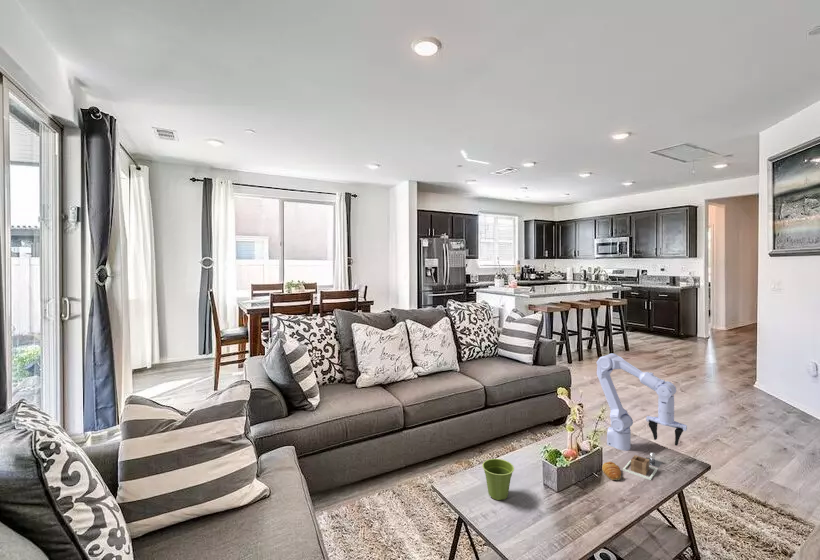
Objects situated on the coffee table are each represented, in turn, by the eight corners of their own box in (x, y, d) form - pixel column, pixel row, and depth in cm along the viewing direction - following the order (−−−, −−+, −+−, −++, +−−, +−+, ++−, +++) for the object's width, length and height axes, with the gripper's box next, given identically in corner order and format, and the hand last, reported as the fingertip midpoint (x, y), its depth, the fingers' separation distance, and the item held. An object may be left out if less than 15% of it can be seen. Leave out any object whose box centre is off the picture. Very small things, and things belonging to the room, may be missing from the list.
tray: (622, 472, 159) (622, 469, 159) (630, 463, 166) (630, 459, 166) (650, 482, 151) (650, 478, 151) (657, 472, 159) (657, 468, 158)
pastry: (625, 482, 152) (625, 473, 152) (606, 481, 154) (606, 472, 153) (617, 470, 161) (617, 461, 161) (600, 468, 163) (600, 460, 163)
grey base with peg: (642, 464, 165) (642, 453, 164) (646, 459, 169) (646, 448, 169) (658, 469, 160) (658, 458, 160) (662, 464, 164) (662, 453, 164)
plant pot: (515, 506, 139) (515, 476, 138) (482, 502, 141) (482, 473, 141) (513, 487, 151) (513, 459, 150) (482, 484, 153) (482, 457, 152)
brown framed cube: (634, 466, 162) (634, 454, 162) (649, 471, 159) (649, 459, 158) (630, 471, 159) (630, 459, 159) (645, 476, 155) (645, 464, 155)
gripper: (644, 409, 166) (644, 439, 166) (684, 418, 155) (684, 450, 156) (648, 404, 171) (648, 434, 171) (688, 413, 160) (687, 444, 161)
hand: (665, 441), depth 164 cm, fingers open, 7 cm apart
